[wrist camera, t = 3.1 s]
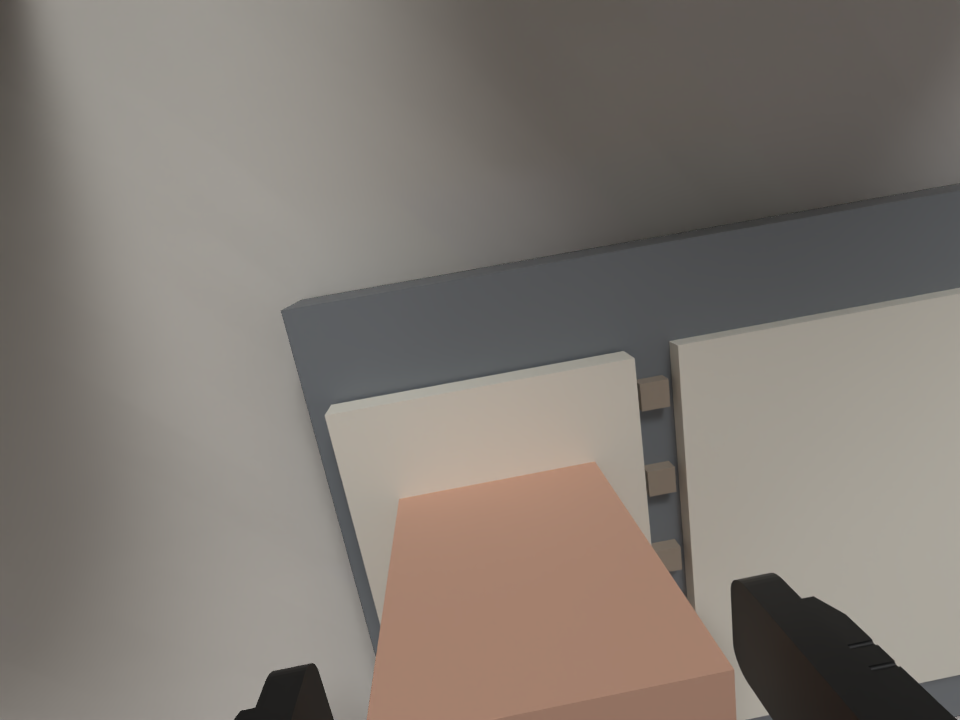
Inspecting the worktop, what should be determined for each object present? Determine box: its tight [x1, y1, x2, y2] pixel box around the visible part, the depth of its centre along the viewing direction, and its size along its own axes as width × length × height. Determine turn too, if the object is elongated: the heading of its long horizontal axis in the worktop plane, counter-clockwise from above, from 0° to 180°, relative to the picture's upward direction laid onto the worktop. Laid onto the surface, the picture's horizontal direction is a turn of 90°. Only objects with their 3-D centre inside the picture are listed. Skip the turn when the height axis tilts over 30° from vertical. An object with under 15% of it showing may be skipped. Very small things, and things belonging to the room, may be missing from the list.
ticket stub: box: [325, 351, 736, 720], centre depth 9 cm, size 6×10×6 cm, turn 10°
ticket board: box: [281, 184, 960, 720], centre depth 12 cm, size 20×14×2 cm
